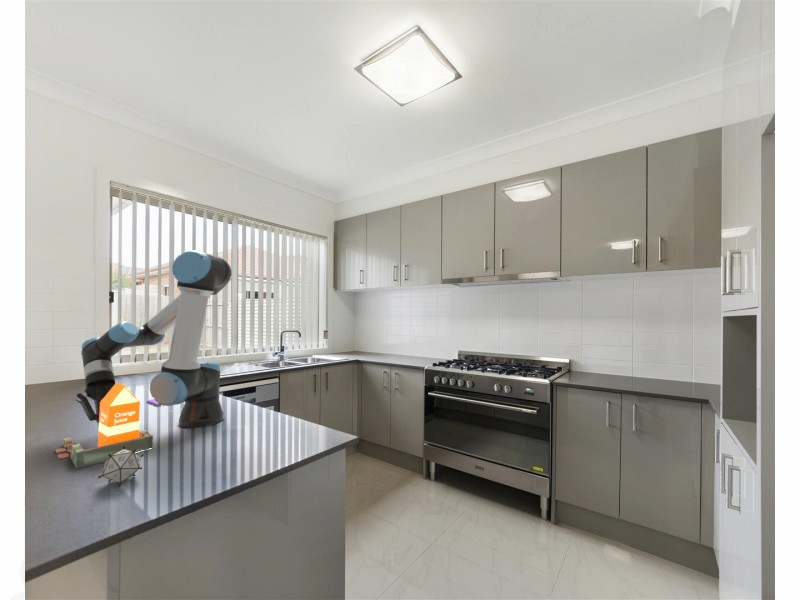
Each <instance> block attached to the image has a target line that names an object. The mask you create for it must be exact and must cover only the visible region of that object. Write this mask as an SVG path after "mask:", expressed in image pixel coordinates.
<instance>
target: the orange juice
mask: <svg viewBox="0 0 800 600" xmlns="http://www.w3.org/2000/svg"><path fill="white" fill-rule="evenodd" d="M140 402H141V401H139V399H138V398H137V397H135V394H133V393H132V392H131V391H130V390H129V389H128V387H126V385H125V384H121V383H119V382H115V385H114V386H113V387H112V389H111V390H110V391H109V392H108V393H107V395H106V396H105V397H104V398H103V399H102V400H101V402H100V414H99V428H98V438H97V447H100V446H104V445H109V444H113V443H118V442H122V441H126V440H131V439H135V438H138V433H139V431H140V430H139V429H140V409H141V408H140V407H141V406H140V405H141V403H140Z"/></svg>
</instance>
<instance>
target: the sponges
mask: <svg viewBox="0 0 800 600" xmlns="http://www.w3.org/2000/svg"><path fill="white" fill-rule="evenodd" d="M146 403H147V404H148V405H151V404H152V406H154V405H155V406H154V407H156V406H158V407H161V406H160V405H161V404H159V403H157V402H156V401H155V399H154V398H153V399H148V400H146Z"/></svg>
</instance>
